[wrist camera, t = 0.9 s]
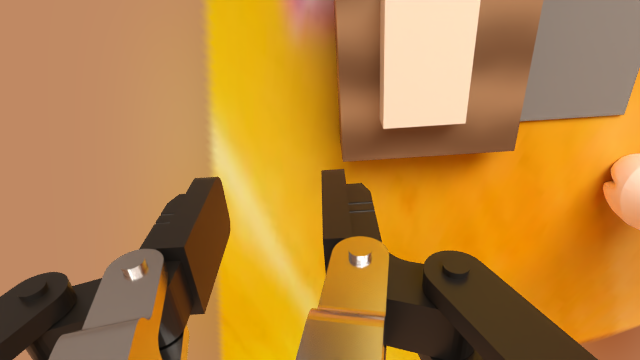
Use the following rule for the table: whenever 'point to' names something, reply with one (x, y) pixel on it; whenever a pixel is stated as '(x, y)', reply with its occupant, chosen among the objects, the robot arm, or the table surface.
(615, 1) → the mat
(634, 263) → the table surface
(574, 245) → the table surface
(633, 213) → the water bottle
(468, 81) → the white flat block
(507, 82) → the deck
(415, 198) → the table surface
